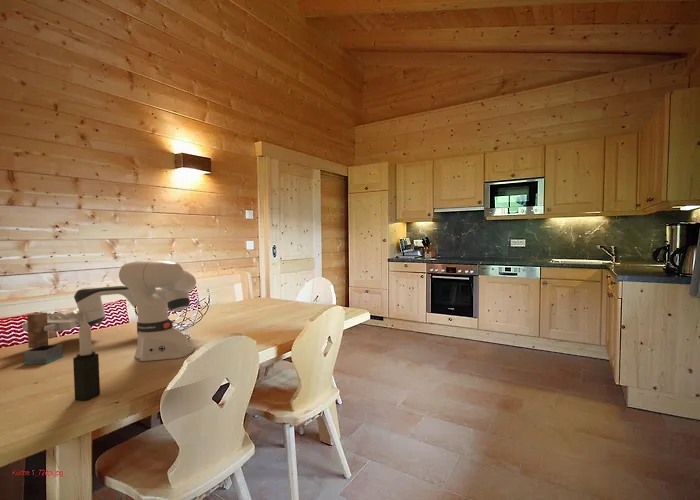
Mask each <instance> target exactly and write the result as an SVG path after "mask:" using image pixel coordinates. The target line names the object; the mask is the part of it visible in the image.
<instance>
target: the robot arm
mask: <svg viewBox="0 0 700 500" xmlns="http://www.w3.org/2000/svg"><path fill="white" fill-rule="evenodd" d="M118 278H119V282H121V284H122V285H114V286H103V287H94V286H93V287H92V286H90V287H88V286H86V287H84V288H80V289H78V290H77V291H76V292H75V294H74V295H73V298H74V300H75V304H76V305H77V307H75V308H74V307H73V308H70V309H68V310H63V311H58V312H54V313H50V314H48V313H47V325H48V326H44V327H42V331H47V330H48V331H52V332H53V331H54V332H57V333H61V332H62V333H63V332H65V331H69V330H72V329H75V328H76V327H80V326H81V324H82V321H83V317H84V316H85V317H86V320H87V323H88V324H89V325H90V327H93V326H95V325H98V324H101V323H103V321H104V320H105V318H106V312H105V309H104V305H103V301H102V296H110V295H113V296H114V295H121V296H123V297H124V298H125V299H126V300H127V301H128V302H129V304H130V305H131V307H133V308H134V309H135V310H136V311H137V322H136V332H137V344H136V349H135V350H136V351H135V354H134V358H136V359H138V360H139V361H140V362H149V361H159V360H172V359H175V360H176V359H181V358H182V359H183V358H184V357H186V356H188V355H190V354H191V353H193V352H194V350H195V346H194V345H190V344H189V340H188V336H187V335H186V334H184V333H183V332H181V331H180V330H178V329H176V328H175V327H174V326H173V325H174V323H175V320H174V319H173V320H171V319H170V318H169V311H172V312H181V311H184V310H185V309H187V308H188V307H189V306H190V303H191V301H190V297H189V295H190V294H189V293H190V292H191V291H193V290H194V289H195V287H196V285H197V279H196V277H195V276H194V275H193V274H191V272H189V271H187V270H184V269H183V267H182V265H181V264H180V263H178V262H173V261H168V260H167V261H166V260H165V261H164V260H163V261H162V260H160V261H157V260H156V261H153V260H148V261H147V260H145V261H143V260H141V261H140V260H139V261H138V260H137V261H131V262H128V263H124V264H123V265H122V266H121V267H120V269H119V272H118ZM136 304H137V309H136V308H135V305H136ZM22 330H23V331H24V332H26V331H27V332H28V325H27V320H25V321H23V323H22Z"/></svg>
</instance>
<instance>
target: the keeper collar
mask: <svg viewBox="0 0 700 500" xmlns="http://www.w3.org/2000/svg"><path fill="white" fill-rule="evenodd" d="M23 354H24V355H23V357H24V361H23V365H47V364H50V363H52V362H54V361H56V360H59V359H60V358H63V357H64V354H63V344H48V345H41V346H38V347H35V348H29V349H28V350H25V351H24V352H23Z"/></svg>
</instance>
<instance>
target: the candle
mask: <svg viewBox="0 0 700 500" xmlns="http://www.w3.org/2000/svg"><path fill="white" fill-rule="evenodd" d="M78 327H79V326H78ZM91 328H92V326H90V325H89V324H88V323H87V320H86V317H85V316H84V317H83V321H82V324H81V326H80V327H79V328H78V339H79V353H77V354H76V356H75V357H73V358H72V360H73V361H72V363H73V365H72V366H73V384H74V385H73V387H74V400H75V401H77V402H78V401H79V402H80V401H81V402H87V401H90V400H92V399H94V398H96V397H98V396H100V395H101V386H100V385H101V384H100V361H99V360H100V359H99V358H100V357H99V356H100V355H99V354H98V353H96V352H95V351H92V350H93V349H92V329H91Z"/></svg>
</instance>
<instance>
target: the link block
mask: <svg viewBox="0 0 700 500" xmlns="http://www.w3.org/2000/svg"><path fill="white" fill-rule="evenodd" d="M47 315H48V312H34V313H33V312H32V313H30V314H27V315H26V319H27V320H26V321H27V325H28V331H27V343H28V349H33V348H35V347H38V346H41V345H49V330H47V331H42V327H44V326H48V325H47Z"/></svg>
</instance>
